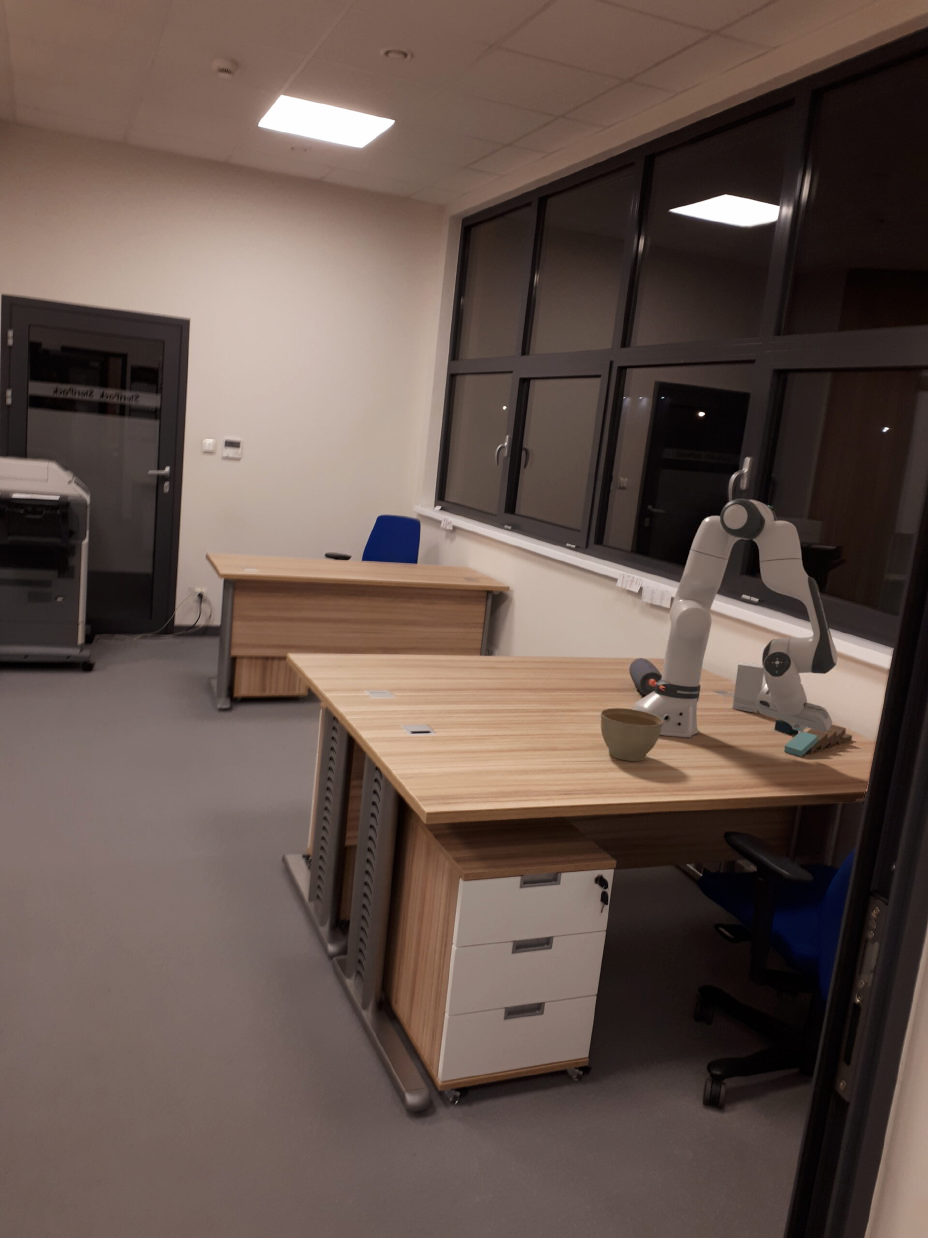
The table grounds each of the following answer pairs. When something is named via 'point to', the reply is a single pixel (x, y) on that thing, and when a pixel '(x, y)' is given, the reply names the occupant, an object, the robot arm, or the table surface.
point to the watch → (785, 727)
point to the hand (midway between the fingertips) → (799, 728)
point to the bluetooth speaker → (644, 675)
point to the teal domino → (801, 743)
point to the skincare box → (748, 686)
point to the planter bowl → (629, 732)
